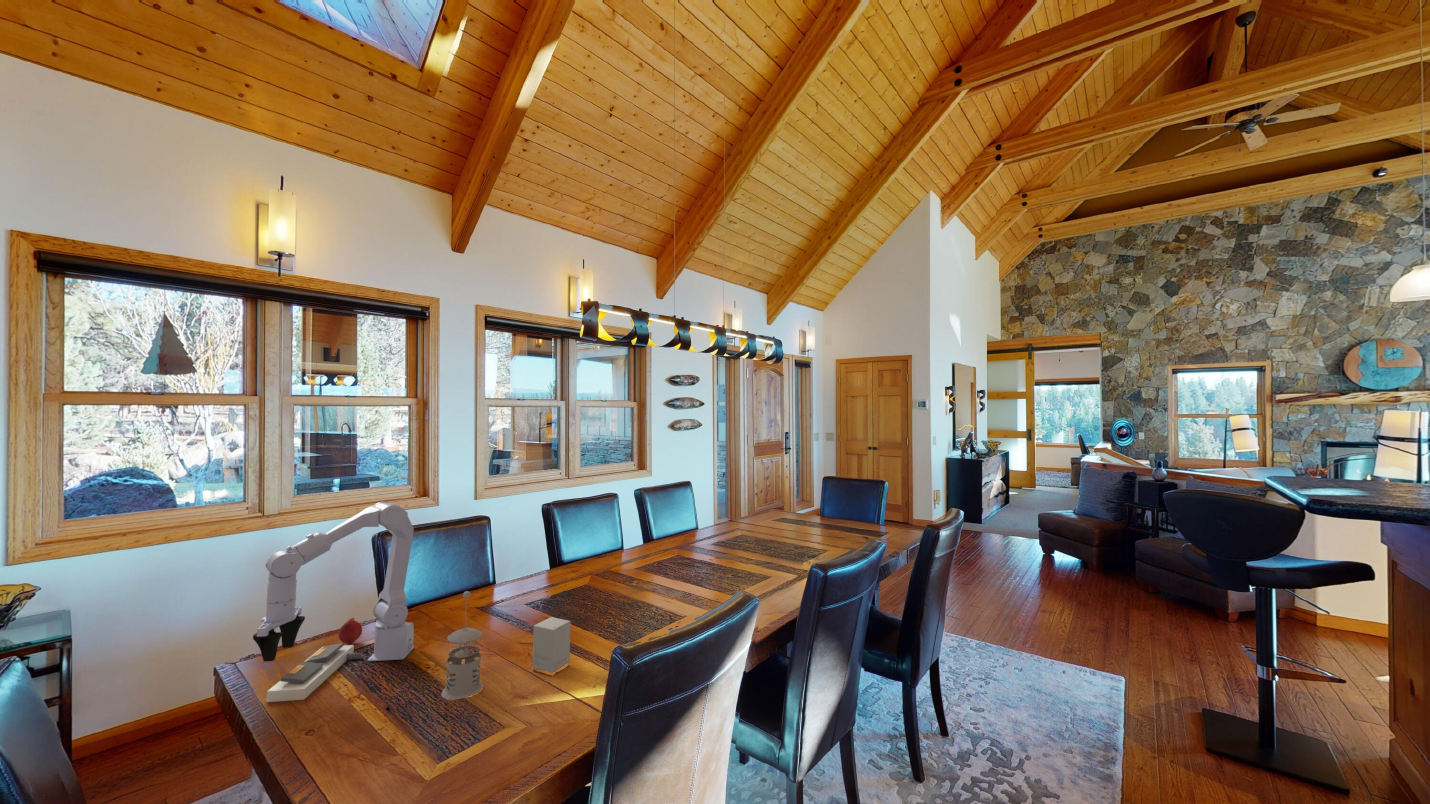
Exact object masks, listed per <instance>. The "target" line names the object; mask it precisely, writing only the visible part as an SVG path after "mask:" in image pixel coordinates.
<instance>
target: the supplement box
mask: <svg viewBox="0 0 1430 804" xmlns="http://www.w3.org/2000/svg"><path fill="white" fill-rule="evenodd" d="M532 640H533V641H532V646H533V647H532V669H533V668H535V669H538V670H543V671H548V672H550V673H553V672H555V671H556V670H558V669H559V668H561V667H562V666H564V665H565V664H567V663H569V664H570V661H571V660H570V657H571V656H570V654H571V653H570V652H571V651H570V648H571V620H567V619H562V618H558V617H553V616H550V617H548V618H546V619H544V620H542V621H540V622H539V623H536V624H534V625H533V639H532Z"/></svg>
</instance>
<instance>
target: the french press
mask: <svg viewBox="0 0 1430 804" xmlns="http://www.w3.org/2000/svg"><path fill="white" fill-rule="evenodd" d="M471 595H472V594H471V592H470V591H468V590H466V591H464V592H462V598H465V611H464V612H465V615H464V616H465V618H464V628H460V629H458V630H455V631H453V632H451V634H449V635H447V638H446V639H447V640H448V642H449V643H451V644H453V645H458V647H457V648H454V649H452V650H451V651H449V653H448V656H449V657H448V658H447V660H446V669H445V670H446V675H445V688H443V690H442V691H441V693H442V694H440V695H441V697H442V698H443V699H444V698H445V699H444V700H446V701H454V700H455V699H460V698H466V697H468V696H471V695H474V694H476V693H478V692H479V691H480V690H481V688H482V684H483V683H482V681H481V677H480V676H481V663H482V661H481V660H482V659H481V657H482V655H481V653H480V648H479V647H477V646H475V645H473V646H472V645H468V644H470V643H473V642H476V641H478V640H479V639H481V638H482V636H483V632H482V631H481V630H479V629H476V628H472V627H467V609H468V597H471ZM462 645H463V646H462ZM475 658H478V659H475ZM462 660H464V664H462ZM481 683H482V684H481ZM455 701H456V700H455Z"/></svg>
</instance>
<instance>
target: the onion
mask: <svg viewBox="0 0 1430 804" xmlns="http://www.w3.org/2000/svg"><path fill="white" fill-rule="evenodd" d="M362 634H363V627H362V625H361V623H360V622H359V621H357V620H355V617H350V618H349V619H348V620H347V621H346V622H345V623H344V624H343V625H342V626H341V627H340V629H339V631H338V638H339V640H340V642H341V643H344V645H354V642H356V641H358V639H359V638H360V637H361V636H362Z"/></svg>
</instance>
